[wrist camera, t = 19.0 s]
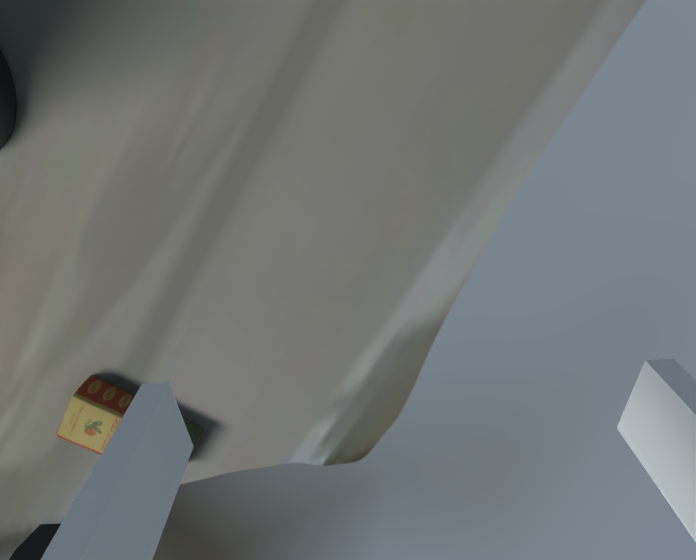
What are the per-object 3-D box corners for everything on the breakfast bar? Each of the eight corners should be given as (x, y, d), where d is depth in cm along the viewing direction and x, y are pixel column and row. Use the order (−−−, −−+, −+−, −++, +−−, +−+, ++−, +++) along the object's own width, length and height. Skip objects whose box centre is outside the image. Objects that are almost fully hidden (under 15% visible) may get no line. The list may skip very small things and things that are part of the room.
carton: (92, 372, 53) (70, 395, 49) (206, 426, 56) (195, 451, 52) (74, 412, 56) (52, 437, 52) (183, 461, 59) (170, 487, 55)
